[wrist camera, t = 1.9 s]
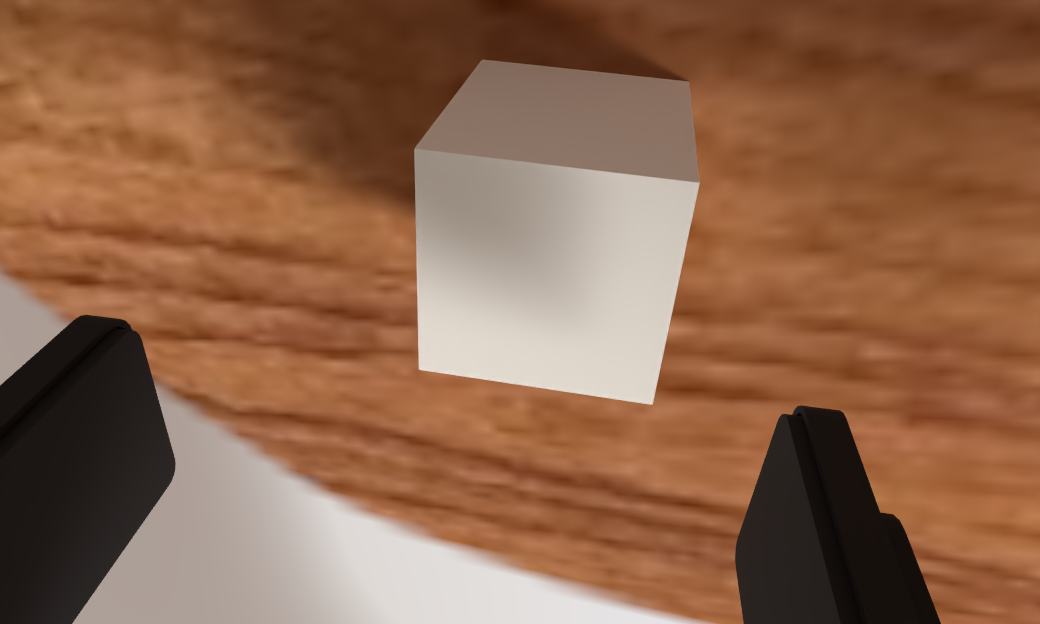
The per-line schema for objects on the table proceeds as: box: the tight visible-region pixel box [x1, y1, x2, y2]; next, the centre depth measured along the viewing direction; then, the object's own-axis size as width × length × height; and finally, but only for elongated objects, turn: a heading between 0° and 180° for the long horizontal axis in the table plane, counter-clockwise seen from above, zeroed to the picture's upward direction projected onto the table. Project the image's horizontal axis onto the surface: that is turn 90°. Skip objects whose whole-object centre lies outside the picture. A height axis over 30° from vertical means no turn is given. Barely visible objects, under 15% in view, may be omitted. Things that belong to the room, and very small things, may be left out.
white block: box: [414, 59, 700, 405], centre depth 17 cm, size 5×5×6 cm
